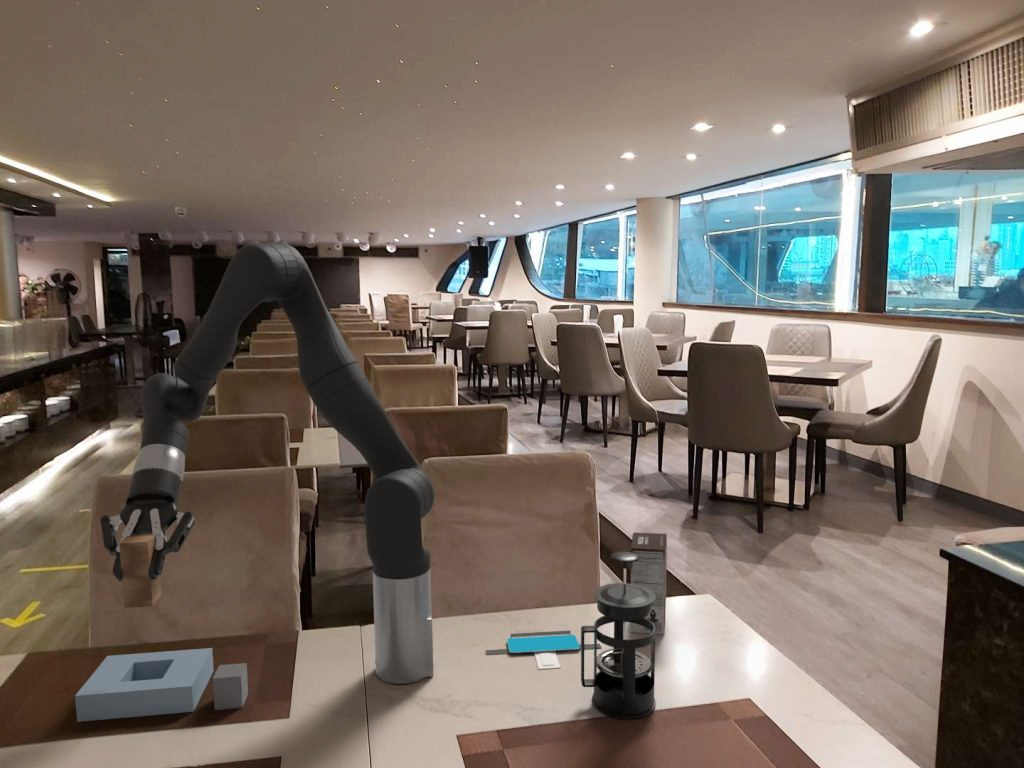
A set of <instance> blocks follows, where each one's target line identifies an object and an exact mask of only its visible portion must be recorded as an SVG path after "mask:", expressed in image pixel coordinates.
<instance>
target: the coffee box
mask: <svg viewBox="0 0 1024 768" xmlns="http://www.w3.org/2000/svg"><path fill="white" fill-rule="evenodd" d="M667 541H668V540H667V533H658V532H657V533H654V532H633V533H632V538H631V545H630V552H631V553H635V554H637V555H638V556H639V557H640V559H639V560H638V561H636V562H631V563H630V584H635V585H640V586H643V587H646V588H648V589H650V590H651V591H652V592H654V594H655V596H656V599H655V602H654V603H653V604H652V606H651V610H650V612H649V614H648V616H646V617H645V618H646V619H648V620H649V621H651V622H652V623H653V624H654V626H655V635H663V636H664V635H665V631H666V611H667V610H666V608H667V607H666V603H667V602H666V601H667V560H668V558H667V557H668V556H667V555H668V554H667V551H668V550H667V547H668V546H667V543H668V542H667ZM629 623H630V622H629ZM629 627H630V628H629V630H630V632H631V633H638V634H648V635H650V634H651V633H652V632H651V631H650V630H649V629H648V628H646V627H644V626H642V625H639V624H635V623H630V624H629Z"/></svg>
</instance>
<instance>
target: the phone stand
mask: <svg viewBox="0 0 1024 768" xmlns="http://www.w3.org/2000/svg"><path fill="white" fill-rule="evenodd" d="M506 642H507V645H506V647H507V648H501V649H499V648H498V649H485V655H498V654H499V655H511V654H512V655H515V654H529V653H531V654H534V656H535V661H536V665H537V668H538V671H539V670H554V669H555V670H556V669H561V665H560V662H559V659H558V656H557V653H556V652H564V651H579V650H580V651H581V644H580V643H579V642H578V638H577V636H576V635H575V634H571V630H569V629H568V630H555V631H554V630H552V631H539V632H538V631H535V632H534V631H533V632H521V633H519V632H518V633H510V635H509V638H507V639H506ZM601 648H602V645H601V644H600V643H597V649H601ZM590 649H594V643H589V644H585V643H584V650H590Z"/></svg>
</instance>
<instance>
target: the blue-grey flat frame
mask: <svg viewBox="0 0 1024 768" xmlns="http://www.w3.org/2000/svg"><path fill="white" fill-rule="evenodd" d="M214 672H215V671H214V657H213V647H207V648H195V649H193V648H191V649H183V650H182V649H180V650H169V651H156V652H152V651H151V652H141V653H129V654H115V655H113V654H112V655H107V656H106V657H105V658H104V660H103V661H102V662H101V663H100V664H99V666H98V667H97V668H96V669H95V671H94V672H93V673H92V674H91V676H89V678H88V679H87V680H86V682H85V683H84V684H83V685H82V686H81V688H80V689H79V690H78V691H77V693H76V694H75V695H74V697H75V698H74V699H75V711H76V721H77V722H78V723H79V722H90V721H91V722H93V721H101V720H111V719H112V720H114V719H123V718H125V719H126V718H138V717H147V716H149V717H150V716H158V715H168V714H169V715H171V714H179V713H180V714H181V713H182V714H183V713H191V712H192V713H193V712H194V711H195V709H196V708H197V705H198V704H199V702H200V699H201V698H202V696H203V693H204V691H205V689H206V687H207V685H208V683H209V681H210V680H211V677H212V675H213V673H214Z"/></svg>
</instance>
